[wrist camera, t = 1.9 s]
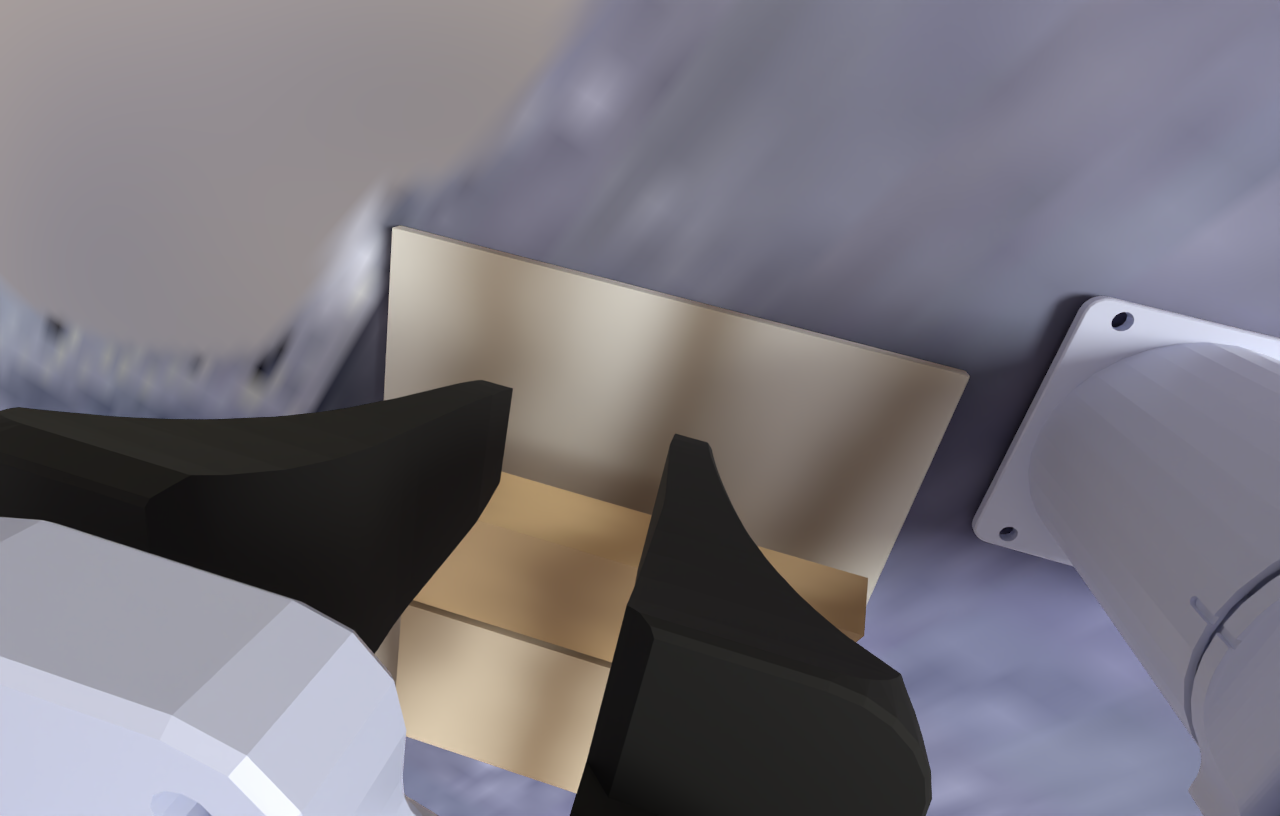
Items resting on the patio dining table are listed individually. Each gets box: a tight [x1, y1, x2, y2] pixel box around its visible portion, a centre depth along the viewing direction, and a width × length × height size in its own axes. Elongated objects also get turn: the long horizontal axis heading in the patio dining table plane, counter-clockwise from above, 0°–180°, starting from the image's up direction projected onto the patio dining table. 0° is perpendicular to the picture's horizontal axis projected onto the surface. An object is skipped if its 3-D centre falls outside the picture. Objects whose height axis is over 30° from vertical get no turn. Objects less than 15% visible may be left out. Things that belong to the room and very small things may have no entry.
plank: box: [413, 472, 868, 662], centre depth 20 cm, size 14×9×2 cm
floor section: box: [375, 226, 970, 793], centre depth 23 cm, size 18×20×2 cm
